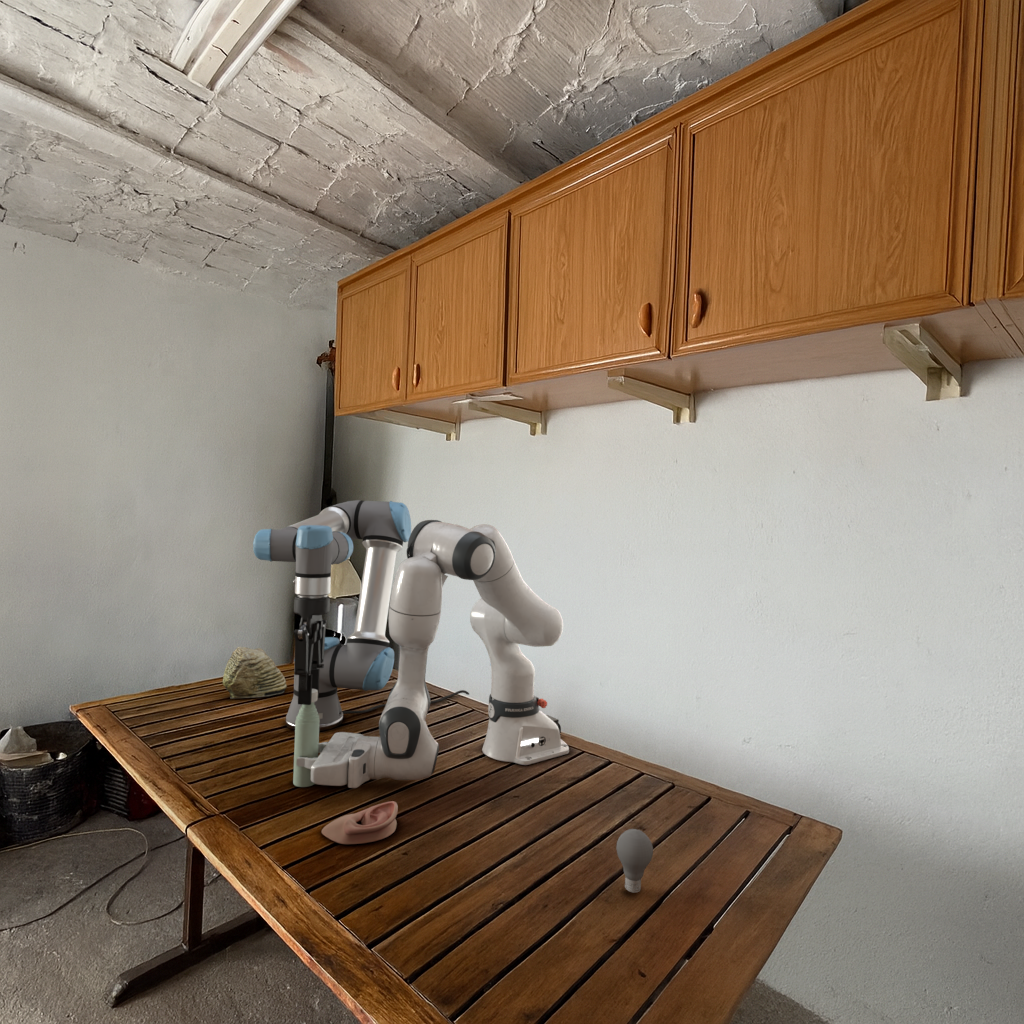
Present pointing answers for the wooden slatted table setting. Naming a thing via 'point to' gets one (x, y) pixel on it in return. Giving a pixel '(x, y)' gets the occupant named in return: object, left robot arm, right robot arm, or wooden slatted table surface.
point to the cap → (314, 695)
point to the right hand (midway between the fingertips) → (302, 754)
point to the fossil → (252, 674)
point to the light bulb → (634, 857)
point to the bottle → (305, 742)
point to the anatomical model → (364, 825)
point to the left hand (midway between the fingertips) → (308, 700)
